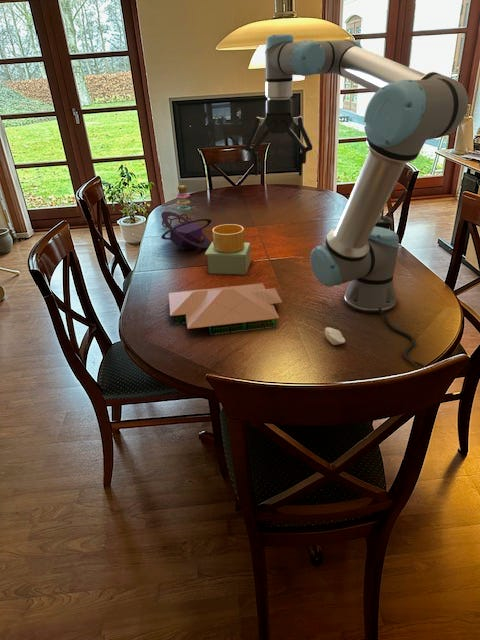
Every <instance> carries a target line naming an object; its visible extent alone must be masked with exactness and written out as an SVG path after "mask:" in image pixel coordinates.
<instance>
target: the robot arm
mask: <svg viewBox="0 0 480 640" xmlns="http://www.w3.org/2000/svg"><path fill="white" fill-rule="evenodd" d="M264 54H265V55H264V56H265V98H267V99H266V100H265V117H260V116H256V118H255V119H254V126H253V128H252V131H251V133H250V136H249V137H248V139H247V142H246V145H245V147H244V151H246V152H249V153H250V163H251V164H252V165H254V176H258V175H259V151H257V150H258V148H259V147H260V146H261V144H262V143H263V142H264V140H265V139H266V138H267V137H268V135H269V134H270V133H271V134H273V135H276V134H280V135H281V134H282V135H283V134H285V133H286V134H287V135H288V136H289V137H290V138H291V139H292V141H293V142H294V144H296V146H297V147H298V148H299V149H300V151H299V161H298V162H299V163H298V176H300V177H301V176H302V175H303V164H304V165H305V164H306V163H307V153H308V152H310V151H312V150H313V144H312V142H311V139H310V137H309V135H308V132H307V130H306V128H305V126H304V121H303V116H301V115H299V116H296V117H293V99H292V98H291V97H293V80H294V79H293V78H294V76H302V77H306V76H308V77H310V76H313V75H314V76H315V75H325V74H328V75H329V74H335V75H338V76H340V77H343V78H344V79H347V80H349V81H350V82H353V83H355V84H357V85H359V86H361V87H363V88H365V89H367V90H369V91H371V92H374V94H373V95H372V97H371V98H370V100H369V102H368V104H367V106H366V108H365V112H364V116H363V123H365V125H364V133H365V136H366V140H365V142H366V145H367V147H368V149H369V150H368V152H367V155H366V157H365V160H364V162H363V164H362V166H361V169H360V171H359V173H358V175H357V178H356V181H355V183H354V186H353V188H352V190H351V192H350V195H349V197H348V200H347V203H346V205H345V208H343V209H344V210H343V212H342V214H341V217H340V219H339V221H338V224H337V226H336V227H335V228H332V229H331V230H330V231H328V233H327V235H326V238H325V239H324V240H325V241H324V242H323V244H322V245H317V246H315V247H314V248H313V249H312V250H311V252H310V257H309V260H310V261H309V262H310V267H311V270H312V273H313V275H314V276H315V278H316V280H317V281H318V282H319V283H320V284H321V285H323V286H325V287H329V288H331V287H335V286H337V287H338V286H341V285H344V284H346V283H348V286H347V288H346V290H345V293H344V303H345V305H346V306H347V307H349V308H351V309H352V310H354V311H357V312H361V313H365V314H381V315H382V317H383V318H384V321H385V322H386V324H387V326H388V327H389V328H390V329H391V330H393V331H394V332H396V333H398V334H401V335H403V336H404V337H407V338H408V339H410V340H411V344H410V345H409V346H408V347H407V348H406V349H405V350H404V352H403V357H404V359H405V361H407V362H408V363H411V364H413V365H416V364H417V366H419V367H421V368H422V367H425V366H426V365H425V364H423V363H421V362H419V361H417V360H413V359H412V358H409V356H408V352H410V350H412V349H413V348H414V346H415V345H416V341H415V339H414V337H413V336H412V335H411V334H409V333H407V332H404V331H402V330H400V329H397V328H396V327H394V326H393V325H392V324H391V323H390V322H391V321H389V319H388V317H387V315H386V313H387V312H390V311H391V310H393V309H395V307H396V303H397V294H396V291H395V286H394V275H395V268H396V263H397V256H398V250H399V242H400V241H399V239H400V238H399V235H398V233H397V232H395V231H393V230H392V229H390V230H389V229H386V228H381V227H375V225H376V223H377V221H378V219H379V217H380V215H381V213H382V211H383V209H384V210H385V207H386V205H387V202H388V200H389V198H390V197H391V195H392V192H393V191H394V188H395V187H396V185H397V183H398V180H400V179H399V178H400V176H401V175H402V172H403V170H404V169H405V166H406V165H407V164H408V163H411V162H414V161H415V160H417V158H418V156H419V154H420V152H421V151H422V149H423V147H424V145H425V144H426V143H425V142H426V141H428V140H434V139H439V138H440V139H441V138H442V137H446V136H448V135H449V134H451V133H452V132H454V131H455V130H457V128H458V127H459V126H460V125H461V123H462V122H463V120H464V119H465V117H466V114H467V112H468V109H469V97H468V92H467V90H466V88H465V86H464V85H463V84H462V83H461V82H460V81H459V80H457V79H455V78H452V77H450V76H447V75H443V74H441V73H439V72H436V71H430V72H427V73H424V72H421V71H419V70H416V69H414V68H411V67H409V66H406V65H404V64H402V63H399V62H397V61H394V60H392V59H389V58H387V57H384V56H382V55H379V54H377V53H374V52H373V51H372V52H371V51H369V50H367V49H365V48H363V46H362V45H361V43H360V42H359V41H357V40H352V39H342V40H302V41H294V36H293V34H292V33H281V34H270V35H268V36H267V37H266V38H265V51H264ZM263 123H264V124H265V126H266V127H267V128H266V130H265V131H264V132H263V133H262V135H260V138H259V139H258V140H257V142H256V143H255V144H254V145H253V146H252V144H253V142H254V140H255V138H256V135H257V133H258V130H259V129H260V127H261V126H262V125H263ZM294 123H295V125H296V126H298V129H299V131H300V133H301V136H302V138H303V141H304V143H305V144H304V143H303V142H302V141H301V139H300V138H299V137H298V135H297V134H296V133H295V131H294V130H293V129H292V127H291V126H292V124H294ZM305 145H306V146H305ZM408 358H409V359H410V360H411V361H412V362H414V363H415V364H414V363H412V362H411V361H410V360H409V359H408Z"/></svg>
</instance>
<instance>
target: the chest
mask: <svg viewBox="0 0 480 640" xmlns="http://www.w3.org/2000/svg"><path fill="white" fill-rule="evenodd" d="M206 258H207V269H208V274H214V275H215V274H217V275H218V274H219V275H220V274H221V275H244V276H245V275H247V273H248V270H249V267H250V265H251V261H252V259H251V258H252V257H251V245H250V246H249V249H248V251H247V254H246V257H236V256H207V257H206Z"/></svg>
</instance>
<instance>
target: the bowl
mask: <svg viewBox="0 0 480 640" xmlns="http://www.w3.org/2000/svg"><path fill="white" fill-rule="evenodd" d="M211 232H212V233H211V234H212V242H213V247H214V249H215V250H217V251H220V252H224V253H231V252H236V251H239V250H241V249H243V248H244V246H245V243H246V242H245V228H244V227H243V226H242V225H240V224H235V223H230V224H229V223H226V224H225V223H224V224H219V225H217V226H214V227H213V228H212V230H211Z"/></svg>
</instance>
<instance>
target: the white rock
mask: <svg viewBox="0 0 480 640" xmlns="http://www.w3.org/2000/svg"><path fill="white" fill-rule="evenodd" d="M324 335H325V338H326V339H327V341H328V342H329V343H330V344H331V345H333V346H339V345H342V344H345V343H346V339H345V338H344V336H343V334H342V332H341V331H340V330H339V329H336V328H333V327H329V326H327V327H325V328H324Z"/></svg>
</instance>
